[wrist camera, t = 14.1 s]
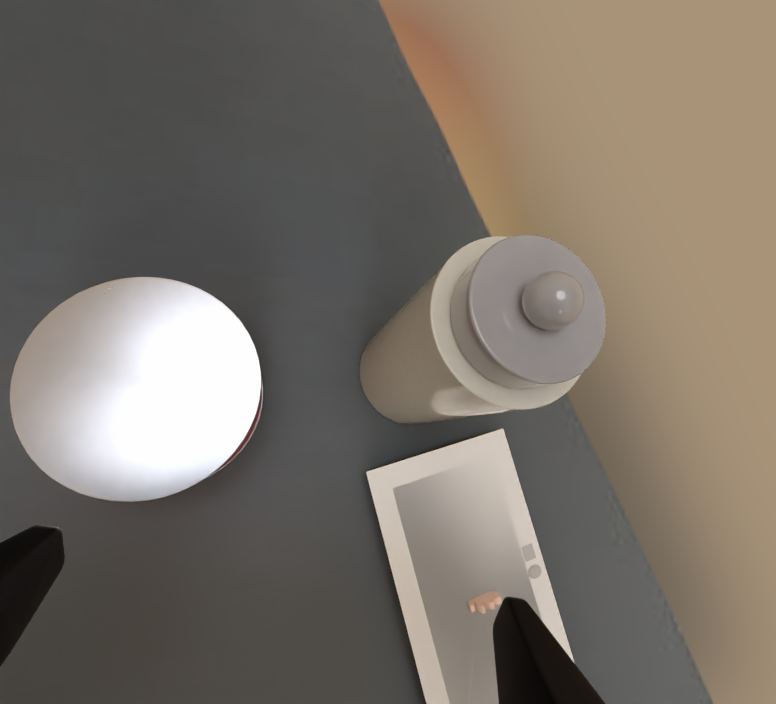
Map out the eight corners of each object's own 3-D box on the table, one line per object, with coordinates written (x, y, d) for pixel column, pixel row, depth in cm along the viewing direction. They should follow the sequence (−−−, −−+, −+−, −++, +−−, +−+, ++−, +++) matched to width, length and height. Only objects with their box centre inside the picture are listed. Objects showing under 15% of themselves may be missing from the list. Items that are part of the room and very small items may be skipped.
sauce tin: (259, 485, 21) (256, 497, 17) (54, 492, 19) (-11, 507, 15) (267, 315, 23) (266, 285, 18) (80, 303, 21) (28, 267, 16)
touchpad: (443, 787, 20) (463, 826, 18) (361, 470, 22) (370, 473, 20) (578, 710, 23) (608, 737, 21) (493, 428, 25) (513, 427, 23)
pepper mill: (458, 424, 24) (675, 403, 11) (359, 423, 23) (474, 400, 10) (454, 326, 25) (647, 204, 12) (359, 320, 24) (464, 175, 11)
